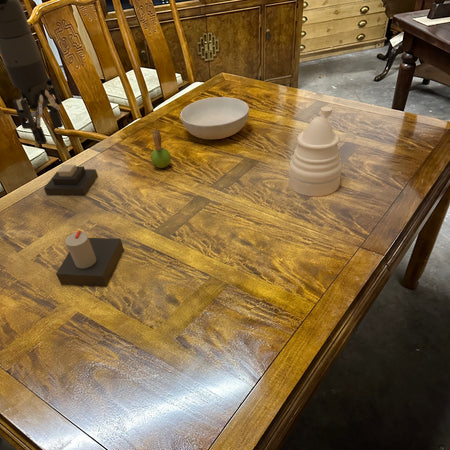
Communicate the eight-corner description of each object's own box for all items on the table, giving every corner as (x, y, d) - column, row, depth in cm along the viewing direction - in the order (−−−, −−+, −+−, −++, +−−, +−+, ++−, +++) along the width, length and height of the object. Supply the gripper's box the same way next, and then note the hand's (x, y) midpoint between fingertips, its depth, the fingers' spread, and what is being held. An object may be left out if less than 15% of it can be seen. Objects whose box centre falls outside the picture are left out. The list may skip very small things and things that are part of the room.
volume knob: (92, 268, 85) (83, 244, 81) (72, 268, 86) (61, 244, 81) (99, 254, 88) (90, 230, 84) (79, 254, 89) (69, 230, 84)
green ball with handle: (152, 174, 116) (142, 132, 107) (154, 162, 120) (145, 121, 112) (171, 172, 116) (163, 130, 107) (172, 161, 120) (165, 119, 112)
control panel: (60, 284, 87) (55, 273, 85) (82, 247, 95) (78, 237, 93) (106, 286, 86) (102, 275, 83) (124, 249, 94) (120, 238, 92)
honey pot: (314, 164, 113) (320, 95, 100) (350, 183, 106) (362, 111, 93) (278, 182, 109) (280, 111, 96) (313, 202, 101) (320, 129, 88)
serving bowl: (202, 114, 141) (200, 93, 136) (259, 122, 134) (259, 100, 129) (170, 142, 129) (167, 120, 124) (232, 152, 121) (230, 129, 116)
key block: (46, 195, 112) (40, 182, 109) (61, 175, 119) (56, 162, 116) (85, 196, 111) (80, 182, 108) (98, 176, 117) (93, 163, 114)
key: (59, 177, 111) (57, 171, 110) (65, 170, 114) (62, 164, 112) (72, 177, 111) (70, 171, 109) (77, 170, 113) (75, 164, 112)
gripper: (21, 70, 81) (52, 149, 93) (53, 47, 91) (77, 121, 102) (-13, 71, 82) (21, 149, 94) (22, 48, 92) (49, 121, 104)
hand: (50, 134), depth 98 cm, fingers open, 8 cm apart
